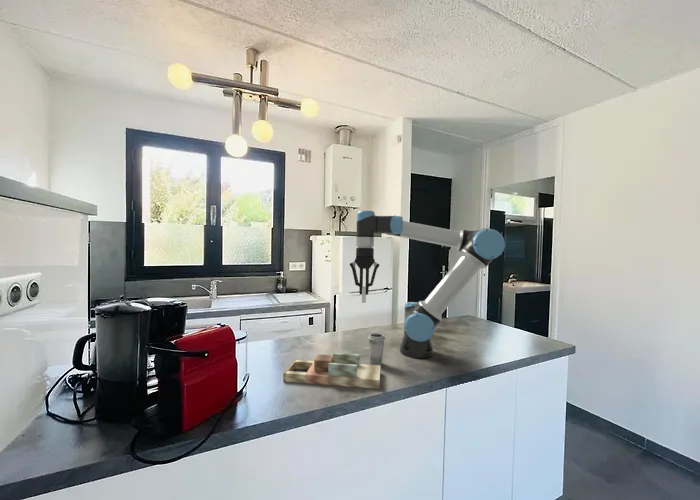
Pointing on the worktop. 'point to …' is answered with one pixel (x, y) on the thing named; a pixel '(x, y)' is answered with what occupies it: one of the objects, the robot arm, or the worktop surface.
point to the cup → (376, 348)
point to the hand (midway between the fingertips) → (363, 302)
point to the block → (323, 362)
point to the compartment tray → (335, 372)
